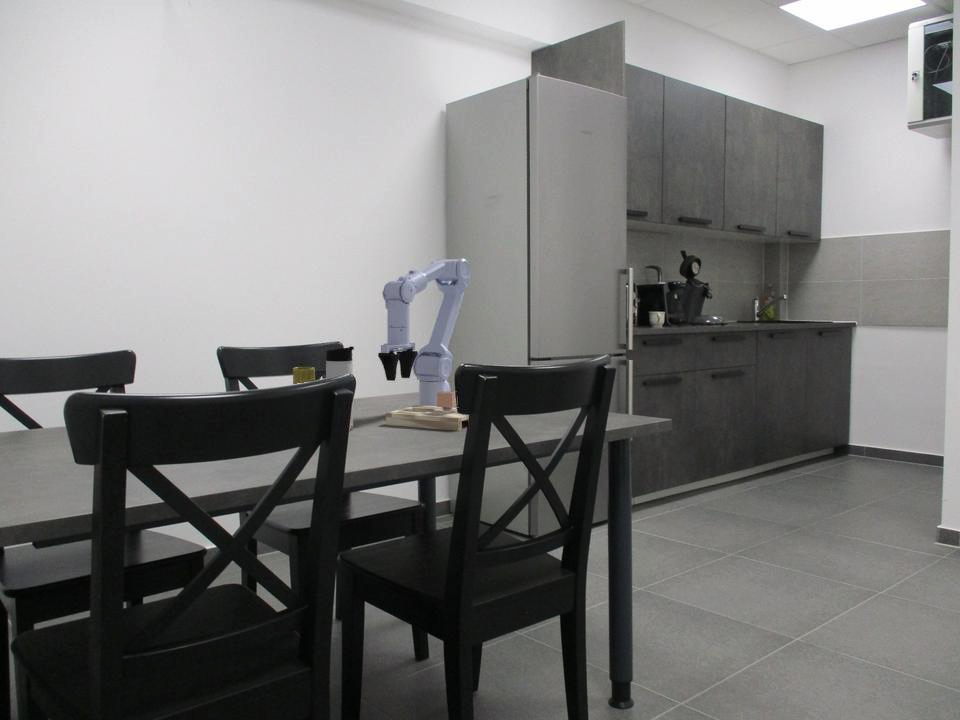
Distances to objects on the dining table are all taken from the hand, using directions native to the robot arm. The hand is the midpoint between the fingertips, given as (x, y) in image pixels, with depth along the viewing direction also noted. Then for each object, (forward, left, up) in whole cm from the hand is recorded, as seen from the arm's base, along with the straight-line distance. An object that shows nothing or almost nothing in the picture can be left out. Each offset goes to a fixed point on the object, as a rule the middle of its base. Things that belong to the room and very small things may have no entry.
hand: (398, 379), depth 209 cm
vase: (+19, -16, -11) cm, 27 cm away
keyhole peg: (+2, +15, -10) cm, 18 cm away
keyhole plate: (+2, +12, -10) cm, 16 cm away
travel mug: (+21, -4, -11) cm, 24 cm away
